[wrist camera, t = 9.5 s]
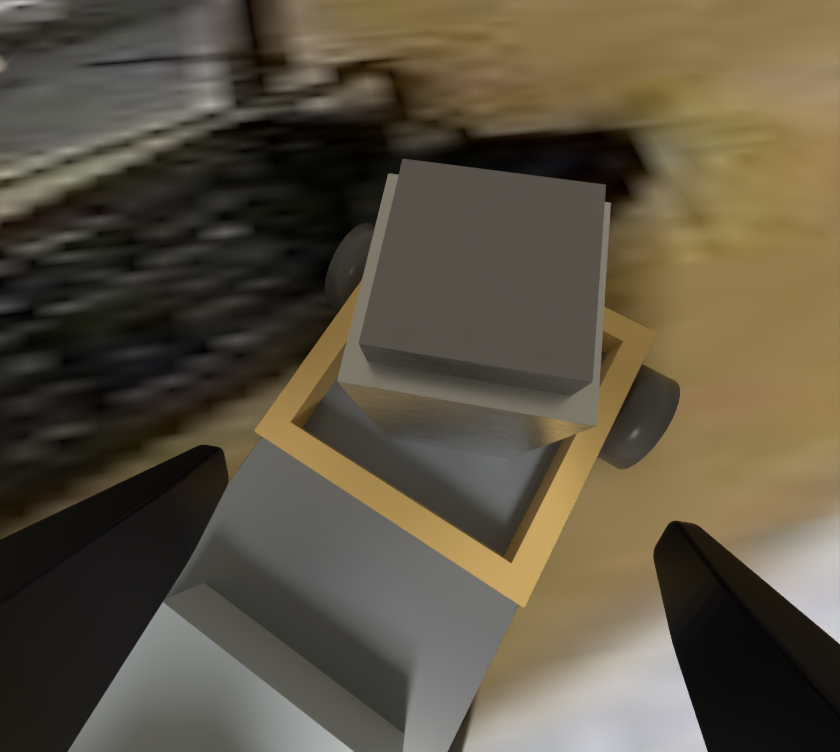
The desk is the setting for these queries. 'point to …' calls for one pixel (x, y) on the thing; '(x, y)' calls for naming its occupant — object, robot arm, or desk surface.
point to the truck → (361, 567)
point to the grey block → (481, 310)
